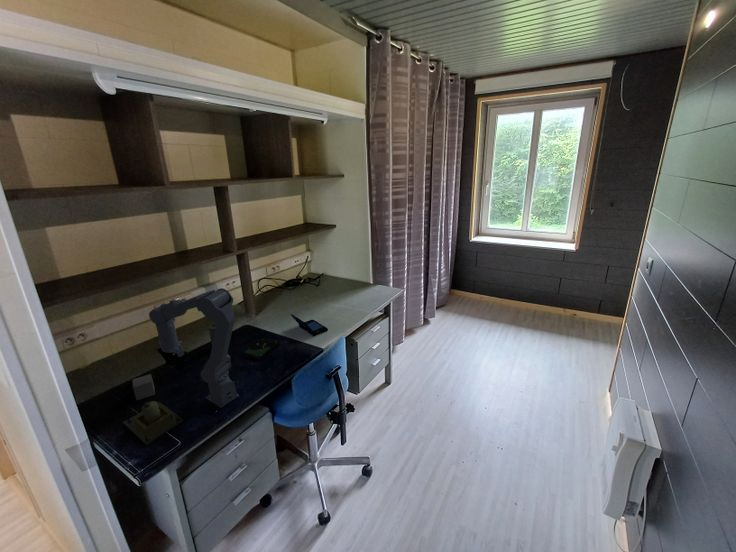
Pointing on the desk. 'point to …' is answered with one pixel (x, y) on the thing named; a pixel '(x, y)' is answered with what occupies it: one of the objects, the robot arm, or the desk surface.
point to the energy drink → (212, 332)
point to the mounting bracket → (156, 428)
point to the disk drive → (261, 348)
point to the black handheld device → (311, 326)
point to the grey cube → (143, 387)
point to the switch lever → (151, 412)
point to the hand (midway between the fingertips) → (175, 366)
